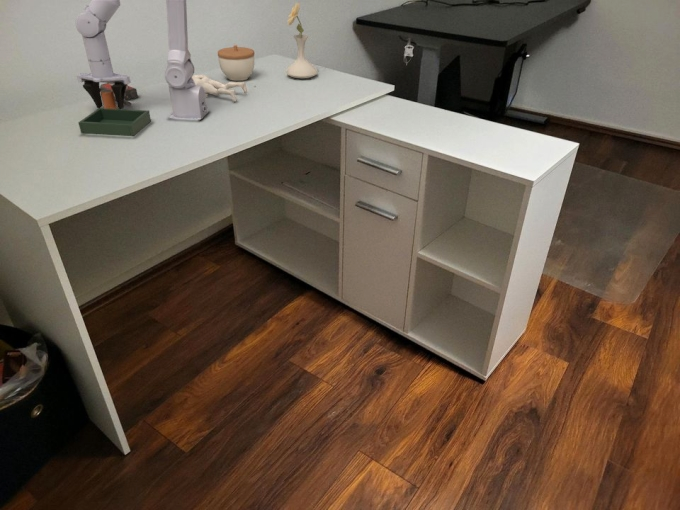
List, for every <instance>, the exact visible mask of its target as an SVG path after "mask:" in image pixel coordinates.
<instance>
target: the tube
mask: <svg viewBox="0 0 680 510" xmlns="http://www.w3.org/2000/svg"><path fill="white" fill-rule="evenodd" d="M100 95H101V99H102V104H103V108H107V109H118V106H117V102H116V101H115V97H114V92H113V90H111V89H106V90H102V91H101V92H100Z"/></svg>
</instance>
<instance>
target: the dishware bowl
mask: <svg viewBox="0 0 680 510" xmlns="http://www.w3.org/2000/svg"><path fill="white" fill-rule="evenodd" d="M217 57H218V63H219V67H220V70H221V72H222V73H223V75H224V76H226V77H227V79H228V80H230V81H232V82H236V81H237V82H242V81H246V80H248V79H249V77H250V76H251V75H252V74H253V71H254V70H255V69H254V68H255V50H254V49H253V48H250V47H245V46H244V47H243V46H238V45H237V44H233V46H231V47H224V48H221V49H219V50H218V51H217Z"/></svg>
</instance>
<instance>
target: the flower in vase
mask: <svg viewBox="0 0 680 510" xmlns="http://www.w3.org/2000/svg"><path fill="white" fill-rule="evenodd" d="M300 7H301V5H300V2H295V4H294V6H292V8H291V11H290V14H288V16H287V17H288V19H287V21H286V24H287V26H291V25H293V23H294V22H295V21H296V18H297V20H298V24H297V25H296V30H297V32H299V34H295V35H294V36H293V39H294V40H295V42H296V47H297V58H296V59H295V61H293V62H292V63H291V64H290V65H289V66H288V67H287V68H286V70H285V74H286V75H287V76H289V77H291V78H294V79H309V78H312V77H315V76H316V75H317V74H318V70H317V68H316V67H315V65H313V64H312V63H311V62H310V61H308V60H307V59H306V56H305V48H306V47H305V46H306V42H307V40H308V37H309V36H308V35H306V34H303V32H304V31H305V30H304V28H303V26H302V23H301V21H300V18H299V16H298V14H299V12H300Z"/></svg>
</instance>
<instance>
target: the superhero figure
mask: <svg viewBox="0 0 680 510" xmlns="http://www.w3.org/2000/svg"><path fill="white" fill-rule="evenodd" d="M192 79H193V80H194V82H195V85H198V86H202V87H203V88H204V90H205V96H206V98H208V97H209V96H208V95H209V94H210V95H213V96H220V95H230V97H231V99H232V101H233V102H234V103H236V102H237V96H236V91H235V89H232V88H237V87H241V89H242V91H243V93H244V94H247V93H248V88H247V86H246V82H245V81H237V82H236V81H229V82H227V83H226V84H224V83H222V82H220V81H219V80H218V81H217V80H213V79H211V78H210V77H208V76H206V75H204V74H203V73H200V74H194V75H193V76H192Z"/></svg>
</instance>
